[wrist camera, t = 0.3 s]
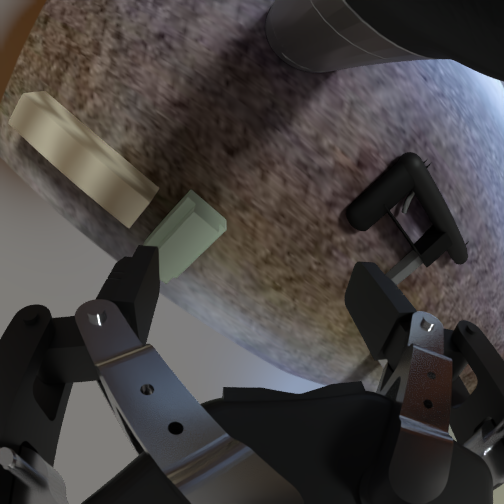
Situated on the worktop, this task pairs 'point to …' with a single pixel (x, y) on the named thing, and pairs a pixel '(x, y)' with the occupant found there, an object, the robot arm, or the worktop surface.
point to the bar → (83, 156)
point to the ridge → (185, 235)
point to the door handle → (389, 194)
